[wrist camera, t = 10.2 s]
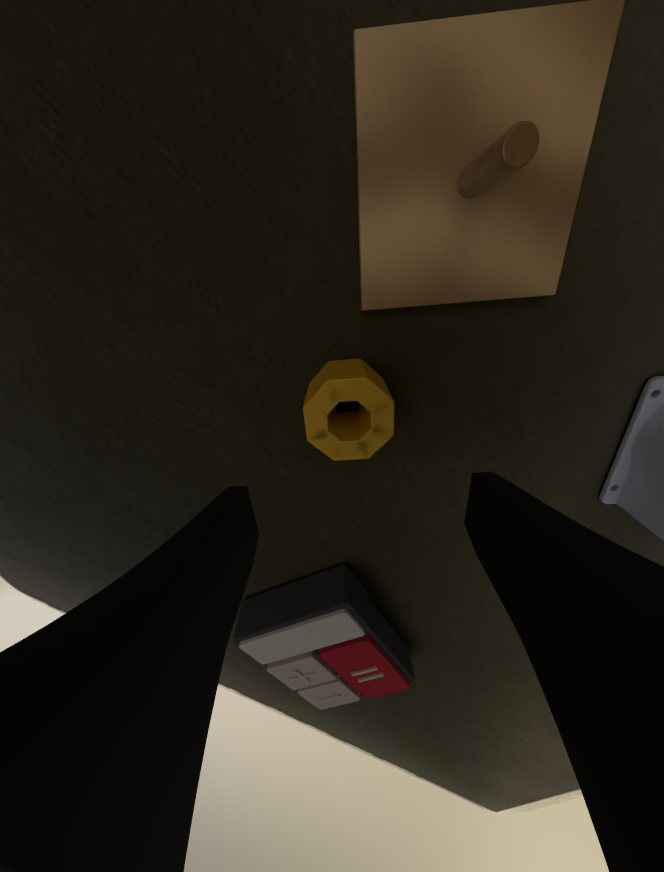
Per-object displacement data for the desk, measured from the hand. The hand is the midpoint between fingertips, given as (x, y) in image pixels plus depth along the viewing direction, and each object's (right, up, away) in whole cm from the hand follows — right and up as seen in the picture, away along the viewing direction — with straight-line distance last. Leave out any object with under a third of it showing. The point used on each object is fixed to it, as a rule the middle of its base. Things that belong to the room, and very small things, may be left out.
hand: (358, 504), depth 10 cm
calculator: (-1, -17, +20) cm, 26 cm away
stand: (+5, +14, +4) cm, 16 cm away
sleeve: (0, +5, +9) cm, 10 cm away
